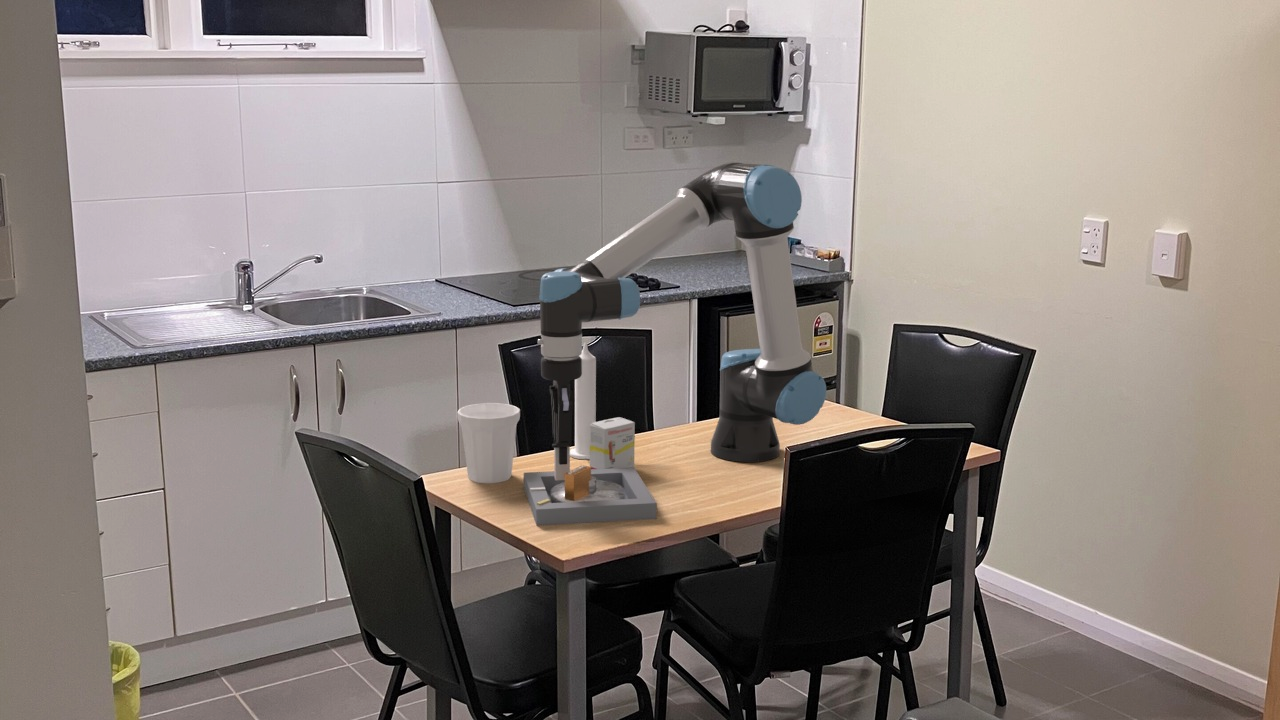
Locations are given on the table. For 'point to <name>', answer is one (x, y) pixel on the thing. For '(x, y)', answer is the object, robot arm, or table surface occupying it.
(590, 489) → the dial
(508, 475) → the cup
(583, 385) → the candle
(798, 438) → the table surface
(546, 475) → the housing
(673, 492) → the table surface
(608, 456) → the ink box
